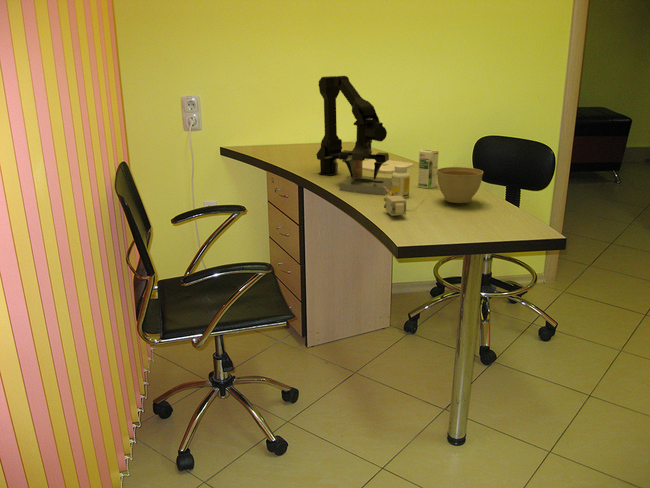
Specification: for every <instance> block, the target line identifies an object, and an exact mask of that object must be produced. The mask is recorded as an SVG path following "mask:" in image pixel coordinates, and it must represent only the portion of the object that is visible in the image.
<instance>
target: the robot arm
mask: <svg viewBox="0 0 650 488" xmlns="http://www.w3.org/2000/svg"><path fill="white" fill-rule="evenodd" d="M318 89H319V94H320V95H321V97H322V99H323V115H324V116H323V119H324V125H323V126H324V135H323V138H322V139H321V141H320V148H319V149H318V151H317V153H316V159H317V161H318V160H319V161H320V162H319V163H320V167H319V172H318V174H319V175H326V176H327V175H328V176H334V175H337V174H338V173H339V167H338V165H339V163H338V161H337V160H341V162H343V163H345V165H346V167H347V169H348V172H349V174H350V177H353V174H354V160H360V161H365V160H370V159H375V161H376V162H375V163H374V165H375V168H374V172H373V177H374V179H376V177H378V174H379V173H378V171H379V169H380V167H381V165H382V164H383V163H385V162H386V161H388V160H390V157H389V156H390V155H389V153H388V152H377V153H373V150H372V143H373V141H376V142H383V141H385V140H386V138H387V134H388V131H387V129H386V127H385V126H383V124H384V123H383V122H380V118H379V116H378V114H377V112H376V109H375V107H374V105H373V104H372V103H371V102H370V101H368V100H366V99H364V98H363V97H362V96H361V94H360V93H359V92H358V91H357V89H356V87H354V85H353V84H352V83H351V81H350V78H349V77H348V76H346V75H330V76H328V75H327V76H321V77H320V79H319V80H318ZM340 92H341V94H342V95H343V96H344V98H345V99H346V100H347V102H348V103H349V104H350V106H351V113H352V115H353V117H354V119H355V120H356V121H354V122H353V126H356V141H355V142H354V143H355V145H354V147H353V149H352V150H346V149H344V150H343V145H342V143H343V140H342V139H341V138H339V136H338V134H337V133H338V132H337V130H338V128H337V127H338V126H337V98H338V96H339V94H340Z"/></svg>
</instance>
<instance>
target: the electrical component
mask: <svg viewBox="0 0 650 488" xmlns="http://www.w3.org/2000/svg"><path fill="white" fill-rule="evenodd" d="M384 188H386V187H384ZM386 190H387V191H388V193H387V194H389V195H385V197H383V200H384V202H385V203H384V205H383V208H384V209H385V211H386V212H387V213H388V214H389V215H390V216H393V217H394V216H405V215H407V200H406V198H403V197H401V196H400V195H399V196H396V195H395V194H394V193H393V192H392V190H389V189H387V188H386ZM392 194H394V196H392Z"/></svg>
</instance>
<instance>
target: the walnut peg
mask: <svg viewBox="0 0 650 488" xmlns="http://www.w3.org/2000/svg"><path fill="white" fill-rule="evenodd" d="M363 161H364V160H363ZM363 161H360V160H354V174H353V175H355V176H363V170H362V164H363Z"/></svg>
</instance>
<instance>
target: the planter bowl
mask: <svg viewBox="0 0 650 488" xmlns="http://www.w3.org/2000/svg"><path fill="white" fill-rule="evenodd" d="M483 175H484V171H483V170H481V169H478V168H473V167H465V166H449V167H448V166H446V167H440V168H438V170H437V185H438V187H439V189H440V191H441V193H442V195H443V197H444V200H445V202H449V203H454V204H455V203H456V204H465V203H466V204H467V203H470V202H472V198H473V197H475V195H476V194H477V192H478V191H479V190H480V186H481V183H482V180H483Z"/></svg>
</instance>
